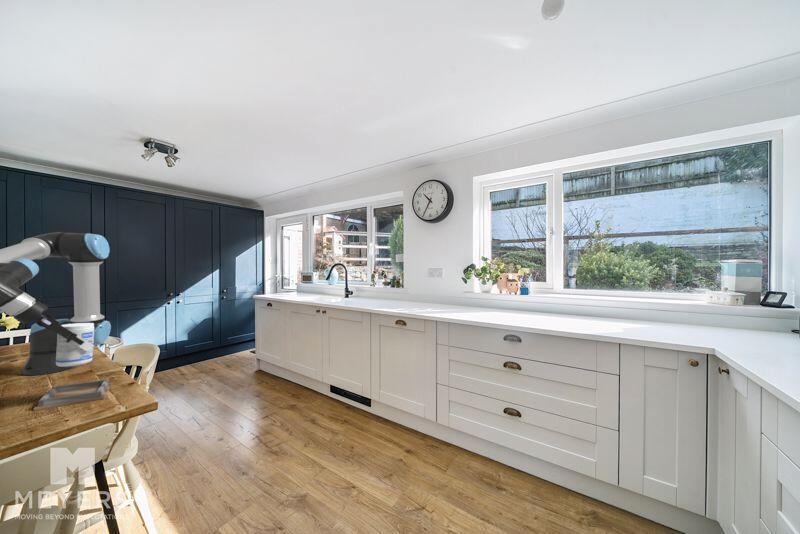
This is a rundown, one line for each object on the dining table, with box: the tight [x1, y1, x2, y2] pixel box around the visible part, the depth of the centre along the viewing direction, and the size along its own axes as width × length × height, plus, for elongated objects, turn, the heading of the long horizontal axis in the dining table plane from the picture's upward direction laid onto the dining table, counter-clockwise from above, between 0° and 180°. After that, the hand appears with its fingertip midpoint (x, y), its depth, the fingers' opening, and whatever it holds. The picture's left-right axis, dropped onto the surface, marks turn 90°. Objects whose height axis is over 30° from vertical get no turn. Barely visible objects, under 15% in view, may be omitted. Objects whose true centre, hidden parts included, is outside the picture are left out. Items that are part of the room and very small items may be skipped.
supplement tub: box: [56, 323, 94, 367], centre depth 114 cm, size 10×10×15 cm
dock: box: [32, 378, 112, 412], centre depth 114 cm, size 17×17×3 cm
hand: (87, 346), depth 116 cm, fingers closed on supplement tub, 10 cm apart
